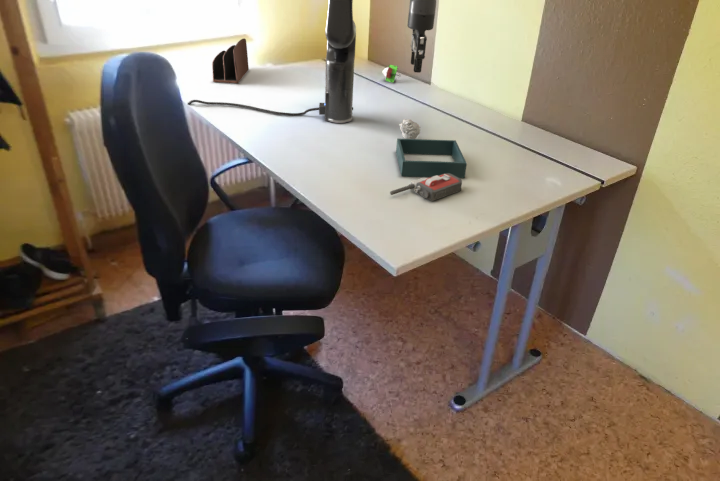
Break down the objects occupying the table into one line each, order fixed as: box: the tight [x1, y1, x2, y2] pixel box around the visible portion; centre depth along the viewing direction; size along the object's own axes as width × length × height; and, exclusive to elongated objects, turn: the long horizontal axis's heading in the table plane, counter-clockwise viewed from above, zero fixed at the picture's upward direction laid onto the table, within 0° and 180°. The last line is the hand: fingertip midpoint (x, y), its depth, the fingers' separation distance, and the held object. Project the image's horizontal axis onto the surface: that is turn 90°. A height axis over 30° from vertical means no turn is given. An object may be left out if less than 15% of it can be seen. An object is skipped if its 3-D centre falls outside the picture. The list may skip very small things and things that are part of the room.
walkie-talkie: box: [389, 173, 463, 202], centre depth 142 cm, size 9×4×20 cm
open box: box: [395, 138, 468, 179], centre depth 157 cm, size 18×17×4 cm
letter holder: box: [211, 38, 250, 85], centre depth 220 cm, size 10×20×14 cm, turn 178°
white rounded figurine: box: [399, 118, 421, 139], centre depth 172 cm, size 6×7×7 cm
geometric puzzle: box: [381, 64, 401, 84], centre depth 227 cm, size 7×7×8 cm
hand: (415, 68), depth 165 cm, fingers open, 8 cm apart
